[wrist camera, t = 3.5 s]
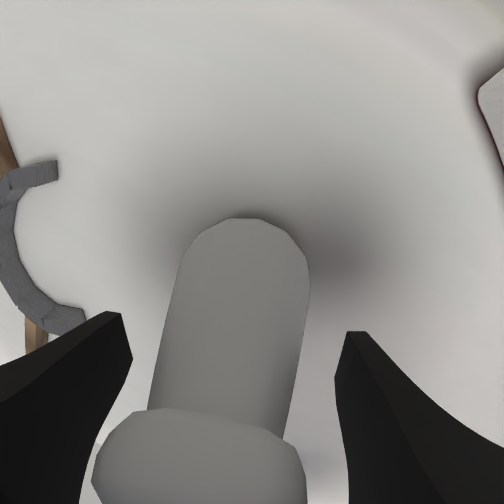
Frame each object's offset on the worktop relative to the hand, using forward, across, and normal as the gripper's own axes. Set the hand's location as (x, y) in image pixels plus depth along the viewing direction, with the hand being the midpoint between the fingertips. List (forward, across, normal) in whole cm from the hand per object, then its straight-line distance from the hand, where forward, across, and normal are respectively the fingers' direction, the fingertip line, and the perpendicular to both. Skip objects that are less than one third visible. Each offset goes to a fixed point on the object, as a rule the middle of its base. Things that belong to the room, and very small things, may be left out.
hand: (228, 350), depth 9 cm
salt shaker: (+7, 0, 0) cm, 7 cm away
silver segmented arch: (+7, +15, 0) cm, 17 cm away
